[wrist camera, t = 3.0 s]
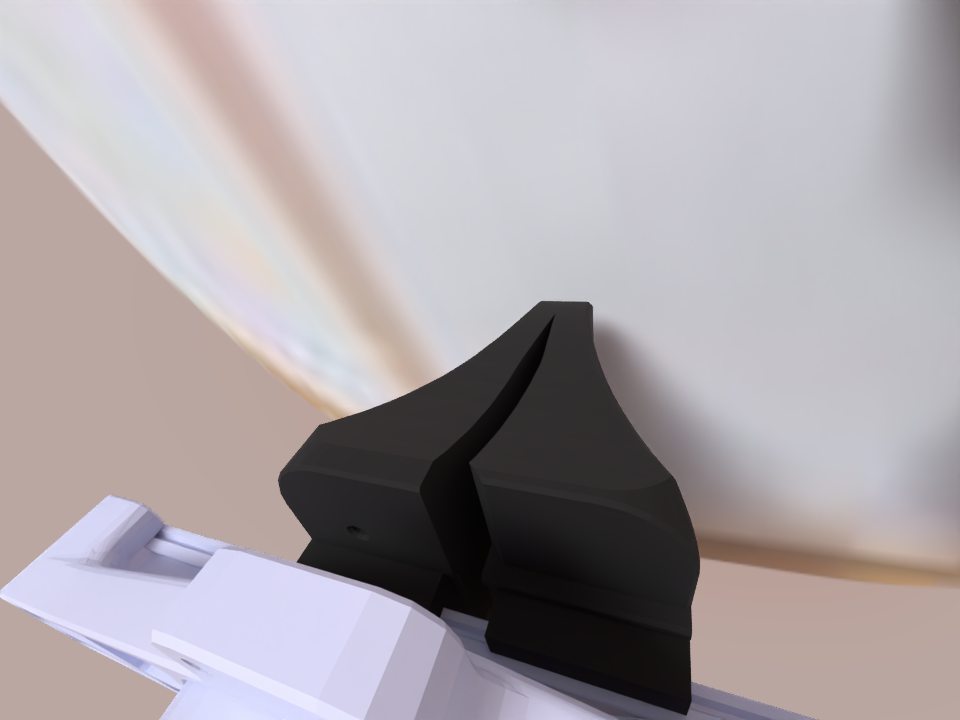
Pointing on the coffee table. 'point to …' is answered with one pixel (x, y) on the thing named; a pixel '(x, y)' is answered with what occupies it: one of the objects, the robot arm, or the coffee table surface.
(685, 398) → the coffee table surface
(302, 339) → the coffee table surface
